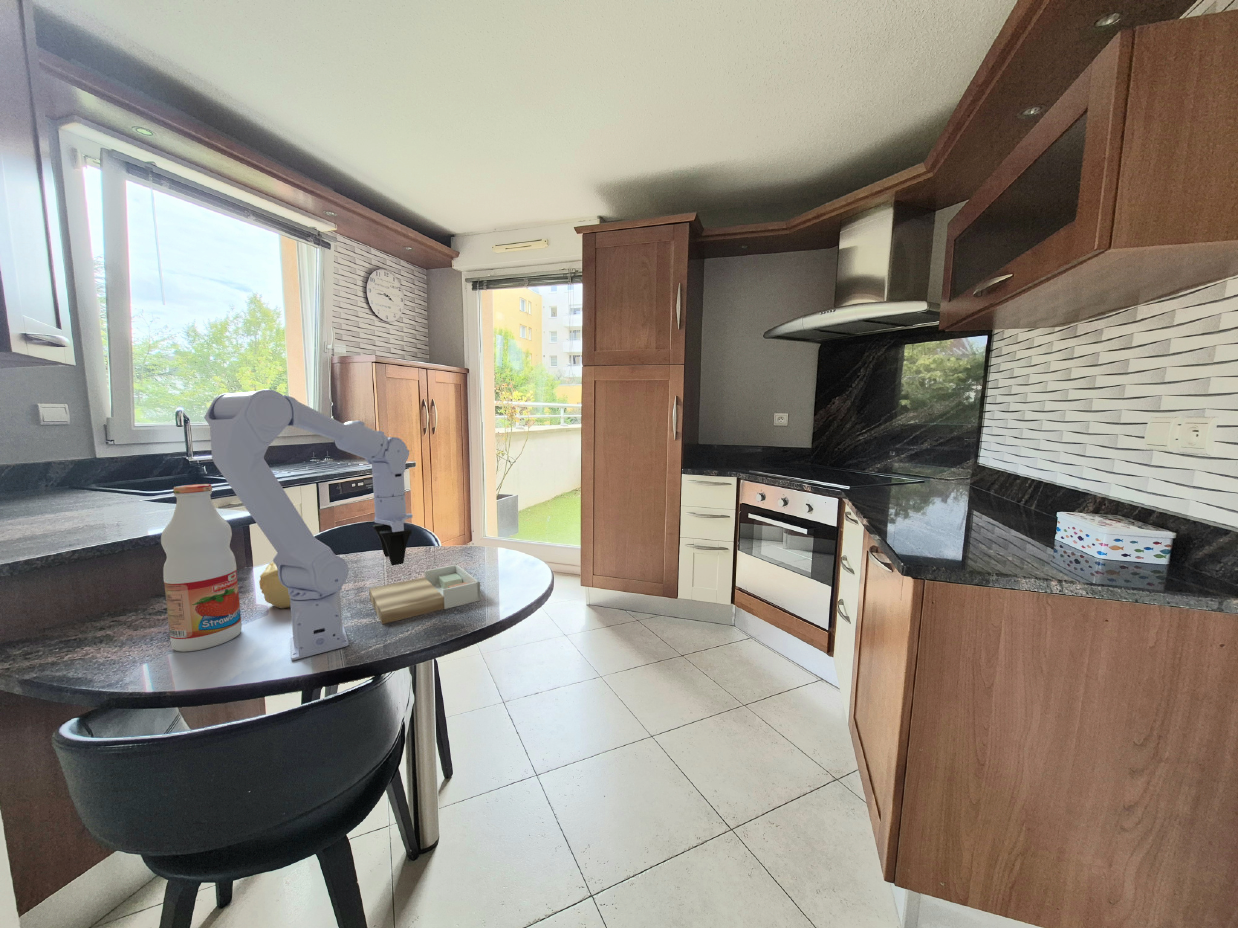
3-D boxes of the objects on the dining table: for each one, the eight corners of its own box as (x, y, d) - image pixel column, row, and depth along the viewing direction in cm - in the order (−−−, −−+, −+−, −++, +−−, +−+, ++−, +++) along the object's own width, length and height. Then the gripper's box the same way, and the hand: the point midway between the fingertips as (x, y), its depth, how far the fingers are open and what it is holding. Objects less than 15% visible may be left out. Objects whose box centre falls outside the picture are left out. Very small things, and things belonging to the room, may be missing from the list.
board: (444, 608, 92) (443, 596, 92) (381, 624, 85) (381, 611, 85) (425, 587, 105) (424, 577, 105) (369, 599, 98) (369, 588, 98)
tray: (480, 600, 96) (479, 581, 96) (444, 609, 92) (443, 590, 91) (457, 580, 109) (456, 564, 109) (425, 587, 105) (424, 570, 105)
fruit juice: (199, 630, 84) (184, 483, 82) (254, 626, 86) (241, 481, 83) (155, 655, 75) (137, 490, 73) (217, 650, 76) (201, 487, 74)
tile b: (444, 582, 101) (444, 590, 101) (462, 578, 103) (462, 586, 104) (438, 576, 105) (438, 584, 105) (455, 572, 107) (456, 581, 108)
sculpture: (270, 598, 100) (265, 551, 99) (332, 589, 105) (329, 544, 104) (253, 617, 90) (249, 565, 89) (324, 606, 95) (320, 556, 94)
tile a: (455, 592, 94) (455, 601, 95) (473, 587, 97) (474, 596, 97) (448, 586, 98) (448, 594, 99) (466, 581, 101) (466, 590, 101)
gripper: (418, 497, 89) (422, 564, 90) (403, 490, 100) (407, 549, 101) (378, 501, 84) (383, 571, 86) (367, 493, 96) (372, 555, 97)
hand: (393, 559), depth 93 cm, fingers open, 7 cm apart
